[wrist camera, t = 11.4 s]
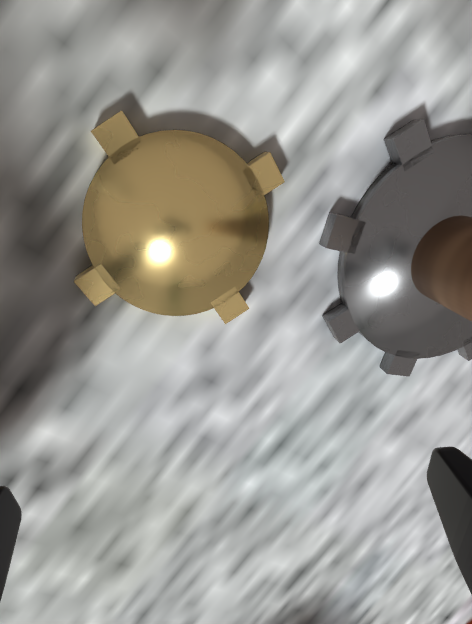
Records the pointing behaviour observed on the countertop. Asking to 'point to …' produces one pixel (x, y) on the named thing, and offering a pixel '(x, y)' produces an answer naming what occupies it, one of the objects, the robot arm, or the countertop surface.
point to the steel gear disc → (401, 250)
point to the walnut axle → (446, 265)
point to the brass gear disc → (174, 221)
